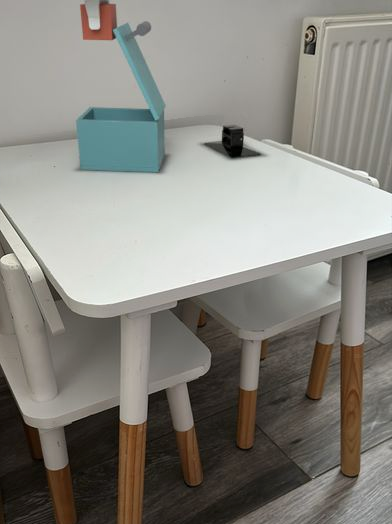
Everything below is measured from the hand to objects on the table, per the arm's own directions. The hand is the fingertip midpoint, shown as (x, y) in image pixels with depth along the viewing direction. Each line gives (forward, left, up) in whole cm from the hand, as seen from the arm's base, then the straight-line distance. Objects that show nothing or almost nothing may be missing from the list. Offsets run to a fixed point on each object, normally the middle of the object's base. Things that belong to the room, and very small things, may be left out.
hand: (99, 27), depth 94 cm
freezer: (+3, +2, -23) cm, 23 cm away
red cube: (0, 0, -2) cm, 2 cm away
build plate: (+24, +14, -23) cm, 36 cm away
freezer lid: (+6, +2, -7) cm, 10 cm away
